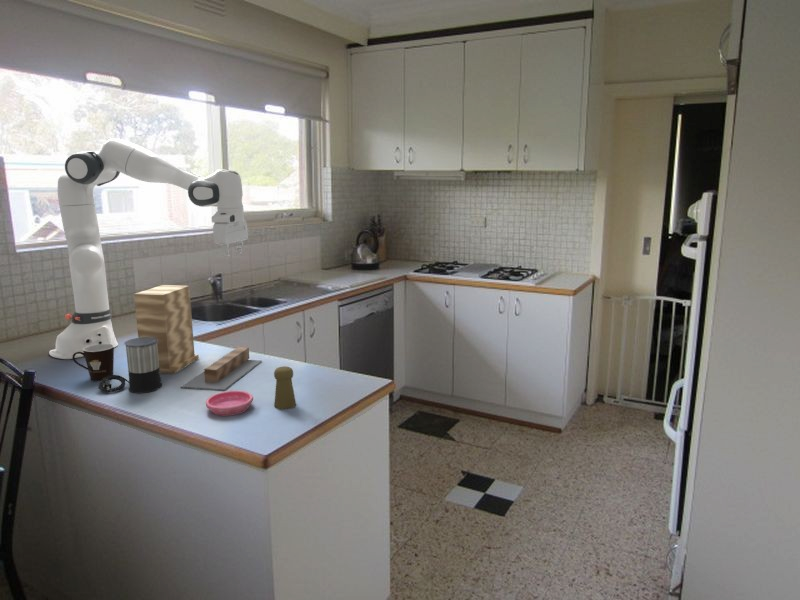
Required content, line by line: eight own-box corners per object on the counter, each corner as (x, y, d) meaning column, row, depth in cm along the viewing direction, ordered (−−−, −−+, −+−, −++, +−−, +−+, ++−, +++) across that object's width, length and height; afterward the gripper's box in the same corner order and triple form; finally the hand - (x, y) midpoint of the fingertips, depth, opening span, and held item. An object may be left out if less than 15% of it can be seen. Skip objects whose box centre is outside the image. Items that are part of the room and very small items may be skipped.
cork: (275, 401, 161) (273, 364, 159) (297, 400, 162) (295, 363, 159) (272, 409, 155) (270, 371, 153) (294, 409, 156) (293, 370, 154)
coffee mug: (123, 375, 183) (120, 345, 181) (101, 383, 175) (98, 352, 173) (95, 371, 187) (92, 341, 185) (72, 379, 179) (69, 349, 177)
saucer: (200, 418, 150) (199, 407, 149) (213, 400, 162) (212, 390, 161) (248, 418, 151) (247, 406, 150) (257, 400, 163) (256, 389, 162)
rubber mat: (224, 390, 169) (224, 389, 169) (180, 388, 171) (180, 386, 171) (261, 361, 196) (261, 360, 196) (223, 359, 198) (223, 358, 198)
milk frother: (167, 388, 171) (163, 341, 168) (112, 402, 161) (106, 352, 157) (148, 377, 181) (144, 332, 178) (95, 389, 170) (89, 342, 167)
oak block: (174, 373, 184) (167, 295, 179) (137, 371, 186) (129, 293, 181) (198, 358, 200) (193, 285, 194) (164, 356, 202) (158, 284, 196)
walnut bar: (217, 382, 175) (216, 369, 174) (204, 381, 176) (204, 369, 175) (249, 358, 198) (248, 347, 197) (238, 357, 199) (237, 347, 198)
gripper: (235, 214, 212) (237, 251, 215) (208, 217, 192) (211, 258, 195) (251, 214, 211) (253, 251, 214) (226, 218, 191) (228, 258, 194)
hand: (233, 255), depth 204 cm, fingers open, 8 cm apart
